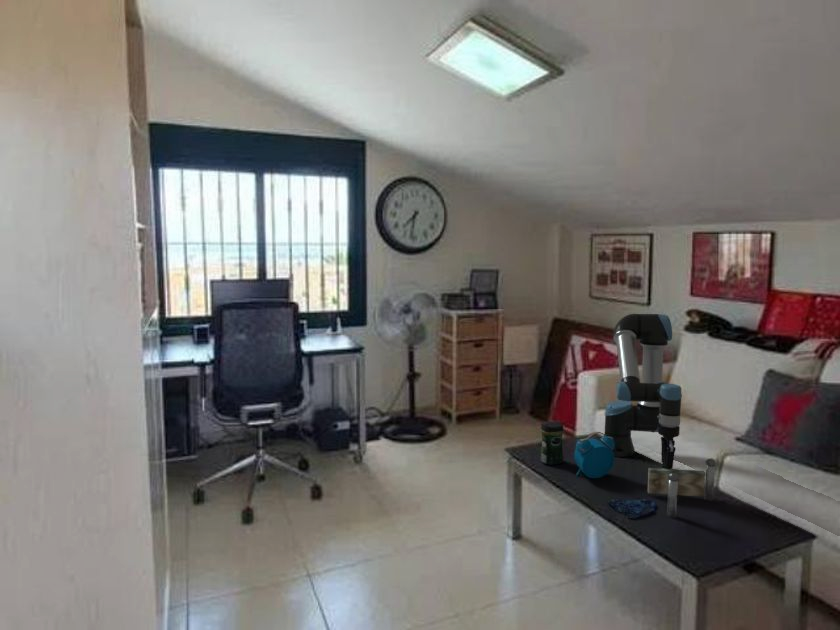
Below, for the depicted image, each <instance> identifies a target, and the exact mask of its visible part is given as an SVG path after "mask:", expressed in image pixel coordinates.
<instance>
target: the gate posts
mask: <svg viewBox="0 0 840 630" xmlns="http://www.w3.org/2000/svg"><path fill="white" fill-rule="evenodd" d="M716 465H717V462H716V460H715V459H713V458H707V459H706V461H705V486H704V496H703V497H704V498H703V499H704V500H705V501H707V500H708V501H709V502H712V501H714V491H715V475H716V474H715V473H716ZM668 479H669V483H668V494H667V506H666V516H667V517H668V518H671V519H676V517H677V508H678V507H677V505H678V504H677V503H678V495H677V489H678V480H679V477H678V475H677V474H676V473H670V474H669V476H668ZM708 501H707V502H708Z"/></svg>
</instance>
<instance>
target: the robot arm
mask: <svg viewBox="0 0 840 630" xmlns="http://www.w3.org/2000/svg"><path fill="white" fill-rule="evenodd" d="M612 334H613V335H612V336H613V341H614V343H615V344H616V349H617V350H616V352H617V358H618V359H617V360H618V370H619V371H618V372H619V377H620V378H619V379H620V381H619V382H617V383H616V386H615V389H616V390H615V395H616V398H617V400H615V401H611V402H608V403H607V404H606V406H605V411H604V432H603V434H605V435H606V436H608V437H613V441H614V443H615V446H614V449H613V450H612V449H611V448H610V447H609V446H608V445H606V444H605V443H604V442H603V441H602V440H601V442H602V443H603V444H604V445H606V446H607V447H608V448H609V449H611V450H612V452H613V454H614V457H619V458H625V457H626V458H627V457H632V456H633V455H634V454H635V447H634V442H633V438H632V432H643V433H644V432H647V433H649V432H650V433H658V434H659V435H660V436H661V437H660V443H661V463H662V465H661V469H674V468H673V467H674V458H675V453H676V449H677V448H676V447H675V443H676V441H675V440H674V438H678V437H679V436H680V430H681V429H680V425H681V410H682V409H681V408H682V407H681V406H682V397H683V395H682V387H681V386H680V385H679V384H676V383H669V382H666V381H663V368H664V364H663V363H664V348H666V347H667V346H668V345H669V343H668V342H670V341H672V340H673V328H672V321H671V319H670V316H668V315H667V314H661V313H660V314H659V313H628V314H627V315H624V316H623V317H622V318H620V319H619V320H618V322H617V323H616V325H615V327H614V329H613V333H612ZM637 340H639V344H640V345H641V346H642V364H641V365H642V366H641V367H642V368H641V378H640V371H639V363H638V356H637V348H636V343H635V342H636V341H637ZM633 402H636V405H633ZM602 437H605V436H604V435H603V436H602Z"/></svg>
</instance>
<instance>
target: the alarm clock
mask: <svg viewBox="0 0 840 630" xmlns="http://www.w3.org/2000/svg"><path fill="white" fill-rule="evenodd" d="M597 434H601V435H603V436H605V437H603V436H602V437H600V440H599V439H596V438H591V437H593V436H594V435H597ZM602 441H603V442H604V443H605V444H606V445H608V446H609V447H610V448H611V449H612V450H613V449H614V446H615V443H614V441H613V437H608V436H606V435H605V434H604V432H601V431H596V432H593V433H592V434H590V435H589V436H588V437H585V438H581V439H578V440H577V442H576V443H575V450H574V454H573V455H574V458H573V459H574V462H575V464H576V465H577V467H578V468H579V469H578V471H577V472H576V476H577V477H578V476H579V475H580V473H581V472H582V473H583V474H584V475H585V476H586V477H588V478H591V479H598V478H602V477H604V476H605V475H607V474H608V473H609V472H610V471H611V469H612V468H613V467H614V466H613V465H614V463H615V456H614V454H613V452H612V450H611V449H609V448H608V447H607V446H606V445H604V444H603V443H602Z"/></svg>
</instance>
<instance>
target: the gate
mask: <svg viewBox="0 0 840 630" xmlns="http://www.w3.org/2000/svg"><path fill="white" fill-rule="evenodd" d="M647 469H648V470H647V471H648V472H647V476H648V477H647V494H657V495H668V483H669V479H668V476H669V474H670V473H676V474H677V475H678V477H679V480H678V489H677V496H690V497H704V494H705V477H706V471H705V470H698V469H697V470H695V469H675V468H672V469H663V468H659V467H658V468H655V467H648V468H647Z"/></svg>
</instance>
